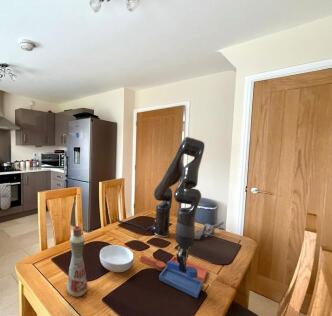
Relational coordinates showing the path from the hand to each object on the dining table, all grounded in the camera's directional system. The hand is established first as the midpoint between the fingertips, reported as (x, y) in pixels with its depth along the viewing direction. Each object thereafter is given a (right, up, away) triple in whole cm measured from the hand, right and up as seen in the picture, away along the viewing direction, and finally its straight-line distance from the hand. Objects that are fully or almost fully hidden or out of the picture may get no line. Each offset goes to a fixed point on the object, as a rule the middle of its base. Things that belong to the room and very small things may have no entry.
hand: (182, 269), depth 88 cm
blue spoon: (0, -1, 0) cm, 1 cm away
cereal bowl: (-29, -5, +11) cm, 31 cm away
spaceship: (+40, -4, +49) cm, 63 cm away
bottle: (-47, -6, -5) cm, 48 cm away
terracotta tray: (+7, -6, +10) cm, 14 cm away
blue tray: (-1, -7, +1) cm, 7 cm away
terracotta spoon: (-10, -5, +14) cm, 17 cm away
